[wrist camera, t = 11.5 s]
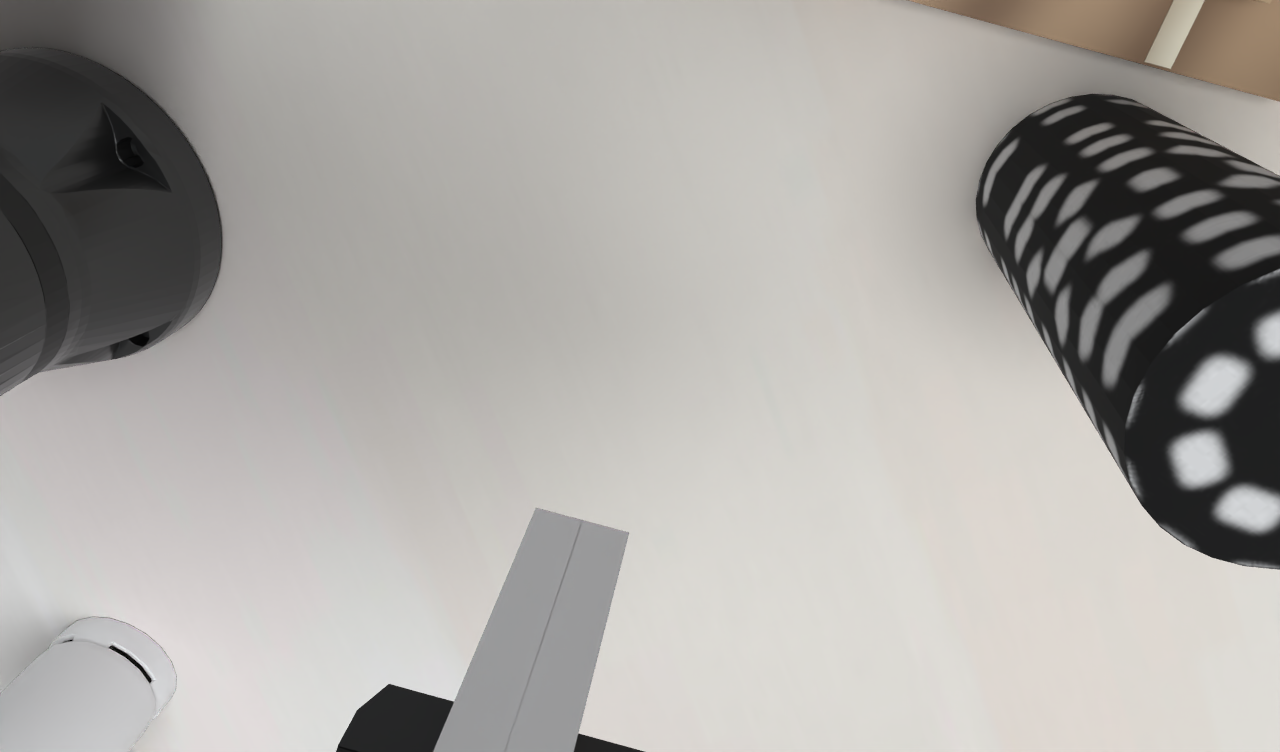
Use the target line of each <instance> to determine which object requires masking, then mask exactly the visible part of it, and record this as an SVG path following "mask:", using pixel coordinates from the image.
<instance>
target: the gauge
mask: <svg viewBox="0 0 1280 752" xmlns="http://www.w3.org/2000/svg"><path fill="white" fill-rule="evenodd" d="M1252 1H1257V2H1263V3H1269V4H1270V3H1271V1H1272V0H1252Z"/></svg>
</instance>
